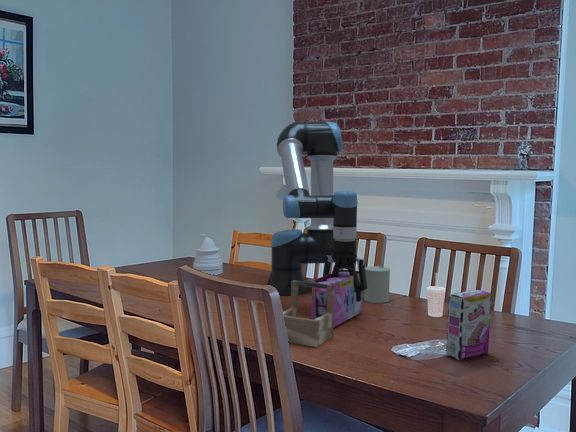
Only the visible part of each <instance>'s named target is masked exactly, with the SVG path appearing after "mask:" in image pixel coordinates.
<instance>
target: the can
mask: <svg viewBox="0 0 576 432" xmlns="http://www.w3.org/2000/svg"><path fill="white" fill-rule="evenodd" d="M390 272H391V269H390V267H386V266H378V265H377V266H375V265H372V266H371V265H370V266H366V267H365V273H366V281H367V289H366V290H364V291H363V292H364V293H363V300H364V302H367V303H371V304H385V303H388V302H390V277H391V276H390V275H391V274H390Z"/></svg>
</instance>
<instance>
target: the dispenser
mask: <svg viewBox="0 0 576 432" xmlns="http://www.w3.org/2000/svg"><path fill="white" fill-rule="evenodd" d="M298 285H301V286H306V287H311V288H312V287H318V288H326V289H327V313H326V314H324V315H322V316H320V317H318V318H316V319H314V320H313V319H311V318H306V317H299V294H298ZM290 299H291V300H290V304H291V305H290V307H289V308H287V309H285V310H283V311H282V312H283V316H284V321H285V326H286V331H287V335H288V339H289V342H288V343H291V344H296V345H303V346H308V347H314V348H317V347H319V346H321V345H322V344H323V343H325V342H326V341H329V340H330V339H332V338H333V337H334V328H335V327H334V285H331V284H321V283H313V282H312V281H305V282H304V281H297V280H293V281H291V295H290ZM333 327H334V328H333Z"/></svg>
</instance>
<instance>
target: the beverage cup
mask: <svg viewBox="0 0 576 432" xmlns="http://www.w3.org/2000/svg"><path fill="white" fill-rule="evenodd" d="M445 293H446V288H445V287H443V286H438V272H435V285H434V286H433V285H431V286H427V287H426V294H427V296H426V297H427V314H428V315H427V316H429V317H432V318H441V317H443V313H444V302H445Z"/></svg>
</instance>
